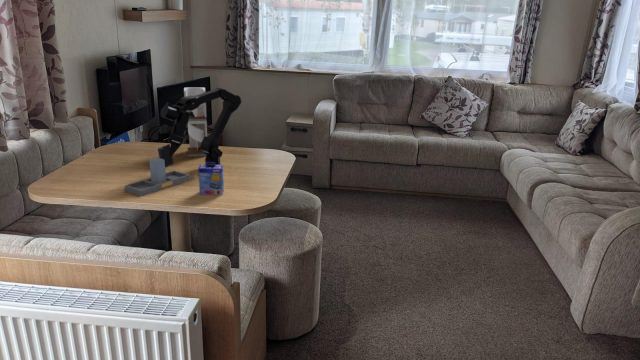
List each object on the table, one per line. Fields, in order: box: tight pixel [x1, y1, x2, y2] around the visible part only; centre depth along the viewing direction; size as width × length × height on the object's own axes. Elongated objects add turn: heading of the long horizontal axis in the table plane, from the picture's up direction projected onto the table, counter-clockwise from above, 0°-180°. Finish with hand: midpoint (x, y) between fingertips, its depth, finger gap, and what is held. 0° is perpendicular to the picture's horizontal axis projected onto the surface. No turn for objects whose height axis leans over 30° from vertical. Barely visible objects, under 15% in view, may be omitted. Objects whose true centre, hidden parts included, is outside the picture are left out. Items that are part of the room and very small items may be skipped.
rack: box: [124, 170, 191, 197], centre depth 219 cm, size 27×11×2 cm, turn 148°
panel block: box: [149, 157, 166, 184], centre depth 217 cm, size 4×5×11 cm
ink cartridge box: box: [198, 162, 225, 196], centre depth 210 cm, size 10×6×14 cm, turn 95°
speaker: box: [157, 143, 174, 168], centre depth 248 cm, size 8×6×10 cm
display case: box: [183, 87, 208, 157], centre depth 264 cm, size 11×11×35 cm
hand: (170, 155), depth 228 cm, fingers open, 9 cm apart
